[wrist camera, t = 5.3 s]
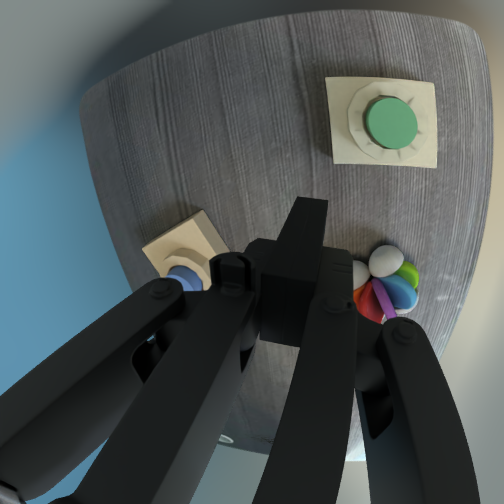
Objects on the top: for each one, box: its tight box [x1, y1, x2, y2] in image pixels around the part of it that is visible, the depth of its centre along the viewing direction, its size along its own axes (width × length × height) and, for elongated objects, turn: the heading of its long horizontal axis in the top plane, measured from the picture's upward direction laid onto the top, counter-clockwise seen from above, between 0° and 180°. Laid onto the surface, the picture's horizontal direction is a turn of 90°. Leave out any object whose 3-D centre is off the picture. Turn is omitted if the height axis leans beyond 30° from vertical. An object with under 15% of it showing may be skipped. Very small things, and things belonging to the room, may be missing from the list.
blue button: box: [166, 265, 202, 291], centre depth 32 cm, size 4×4×2 cm
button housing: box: [142, 210, 230, 291], centre depth 34 cm, size 12×10×4 cm
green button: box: [366, 98, 418, 149], centre depth 17 cm, size 4×4×2 cm
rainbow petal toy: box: [353, 245, 419, 323], centre depth 26 cm, size 8×10×7 cm
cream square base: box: [325, 77, 437, 168], centre depth 19 cm, size 10×8×4 cm
